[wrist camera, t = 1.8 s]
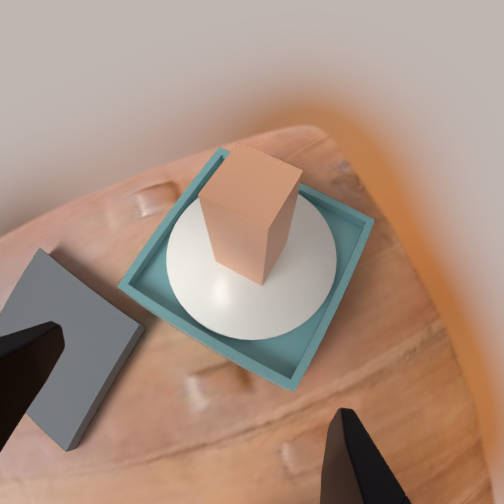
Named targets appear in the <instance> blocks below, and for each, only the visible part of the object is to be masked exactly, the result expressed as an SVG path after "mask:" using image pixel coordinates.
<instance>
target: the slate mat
mask: <svg viewBox="0 0 504 504" xmlns="http://www.w3.org/2000/svg"><path fill="white" fill-rule="evenodd" d="M49 321H53V322H55V323H57V324H60V325H61V327H62V330H63V335H64V340H65V348H64V351H63V353H62V354H61V356H60V358H59V360H58V361H57V363H56V365H55V367H54V369H53V370H52V372H51V374H50V376H49V378H48V379H47V381H46V383H45V384H44V386H43V387H42V389H41V390H40V392H39V393H38V395H37V396H36V398H35V399H34V401H33V402H32V403H31V405H30V406H29V408H28V409H27V411H26V414H27V415H28V416H29V417H30V418H31V419H32V420H33V421H34V422H35V423H36V424H37V425H38V426H39V427H40V428H41V429H42V430H43V431H44V432H45V433H46V434H47V435H48V436H49V437H50V438H51V439H52V440H54V441H55V442H56V443H57V444H58V445H59V446H60V447H61V448H62V449H63V450H65V451H66V452H67V451H70V450H74V449H76V447H77V445H78V443H79V441H80V440H81V438H82V436H83V434H84V432H85V430H86V429H87V427H88V425H89V423H90V422H91V420H92V418H93V416H94V414H95V413H96V411H97V409H98V407H99V406H100V404H101V402H102V400H103V399H104V397H105V395H106V393H107V392H108V390H109V388H110V387H111V385H112V383H113V382H114V380H115V378H116V376H117V375H118V373H119V371H120V370H121V368H122V366H123V365H124V363H125V361H126V360H127V358H128V356H129V355H130V353H131V351H132V350H133V348H134V346H135V345H136V343H137V342H138V340H139V338H140V337H141V335H142V333H143V332H144V330H145V329H146V328H145V327H144V326H142V325H141V324H139V323H138V322H136V321H135V320H133V319H132V318H131V317H129V316H128V315H126V314H125V313H123V312H122V311H121V310H119V309H118V308H116V307H115V306H114V305H112V304H111V303H110V302H108V301H107V300H105V299H104V298H103V297H101V296H100V295H99V294H97V293H96V292H95V291H93V290H92V289H91V288H90V287H88V286H87V285H86V284H84V283H83V282H82V281H80V280H79V279H78V278H77V277H75V276H74V275H73V274H72V273H70V272H69V271H68V270H67V269H65V268H64V267H63V266H62V265H61V264H59V263H58V262H57V261H56V260H55V259H53V258H52V257H51V256H50V255H49V254H47V253H46V252H45V251H43V250H42V249H41V248H39V249H38V251H37V252H36V254H35V255H34V257H33V259H32V260H31V262H30V263H29V265H28V266H27V268H26V270H25V271H24V273H23V275H22V276H21V278H20V280H19V281H18V283H17V285H16V286H15V288H14V290H13V291H12V293H11V295H10V297H9V299H8V300H7V302H6V304H5V306H4V308H3V309H2V311H1V313H0V337H1V336H4V335H8V334H11V333H14V332H17V331H20V330H23V329H27V328H30V327H33V326H36V325H39V324H42V323H46V322H49Z"/></svg>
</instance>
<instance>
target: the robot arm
mask: <svg viewBox="0 0 504 504" xmlns="http://www.w3.org/2000/svg"><path fill="white" fill-rule="evenodd" d="M64 348H65V340H64V335H63V330H62V327H61V325H60V324H57V323H55V322H53V321H49V322H46V323H42V324H39V325H36V326H33V327H30V328H27V329H23V330H20V331H17V332H14V333H11V334H8V335H4V336H1V337H0V452H1V451H2V449H3V447H4V446H5V444H6V442H7V441H8V439H9V437H10V436H11V434H12V433H13V431H14V430H15V428H16V426H17V425H18V423H19V422H20V420H21V419H22V417H23V416H24V414H25V413H26V411H27V409H28V408H29V406H30V405H31V403H32V402H33V401H34V399H35V398H36V396H37V395H38V393H39V392H40V390H41V389H42V387H43V386H44V384H45V383H46V381H47V379H48V378H49V376H50V374H51V372H52V370H53V369H54V367H55V365H56V363H57V361H58V360H59V358H60V356H61V354H62V353H63V351H64ZM405 495H406V494H405V492H404V491H403V489H402V487H401V486H400V484H399V483H398V481H397V479H396V478H395V476H394V475H393V473H392V471H391V470H390V468H389V466H388V465H387V463H386V462H385V460H384V458H383V457H382V455H381V453H380V452H379V450H378V449H377V447H376V445H375V444H374V442H373V441H372V439H371V437H370V436H369V434H368V432H367V431H366V429H365V428H364V426H363V424H362V423H361V421H360V420H359V418H358V416H357V415H356V413H355V412H354V410H352V409H348V408H339V409H338V411H337V412H336V414H335V416H334V418H333V419H332V421H331V423H330V425H329V428H328V433H327V441H326V447H325V454H324V461H323V467H322V475H321V497H320V504H412V503H411V502H410V500H409V499H408V497H407V496H405Z"/></svg>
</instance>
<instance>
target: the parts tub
mask: <svg viewBox="0 0 504 504" xmlns="http://www.w3.org/2000/svg"><path fill="white" fill-rule="evenodd" d="M229 153H230V152H229V151H227V150H225V149H222V148H220V147H219V149H218V150H217V151H216V152H215V154H214V155H213V156H212V157H211V158H210V160H209V161H208V162H207V163H206V165H205V166H204V167H203V168H202V170H201V171H200V172H199V173H198V175H197V176H196V177H195V179H194V180H193V181H192V182H191V184H190V185H189V186H188V188H187V189H186V190H185V192H184V193H183V194H182V195H181V197H180V198H179V199H178V201H177V202H176V203H175V205H174V206H173V207H172V209H171V210H170V211H169V213H168V214H167V216H166V217H165V218H164V220H163V221H162V222H161V224H160V225H159V227H158V228H157V229H156V231H155V232H154V233H153V235H152V236H151V238H150V239H149V241H148V242H147V243H146V245H145V246H144V248H143V249H142V251H141V252H140V253H139V255H138V256H137V258H136V259H135V261H134V262H133V264H132V265H131V267H130V268H129V270H128V271H127V273H126V274H125V276H124V277H123V279H122V280H121V282H120V283H119V285H118V286H117V287H118V288H119V289H121V290H122V291H123V292H124V293H126V294H127V295H128V296H129V297H131V298H132V299H133V300H135V301H136V302H137V303H138V304H140V305H141V306H142V307H144V308H145V309H146V310H148V311H149V312H151V313H152V314H154V315H156V316H157V317H159V318H160V319H162V320H163V321H165V322H166V323H168V324H170V325H171V326H173V327H174V328H176V329H177V330H179V331H181V332H182V333H184V334H186V335H187V336H189V337H190V338H192V339H194V340H195V341H197V342H199V343H200V344H202V345H204V346H205V347H207V348H209V349H211V350H212V351H214V352H216V353H217V354H219V355H221V356H223V357H224V358H226V359H228V360H230V361H232V362H233V363H235V364H237V365H239V366H241V367H242V368H244V369H246V370H248V371H250V372H252V373H253V374H255V375H257V376H259V377H261V378H263V379H265V380H267V381H268V382H270V383H272V384H274V385H276V386H278V387H280V388H282V389H285V390H289V391H293V392H295V390H296V388H297V386H298V384H299V383H300V381H301V379H302V377H303V375H304V373H305V371H306V370H307V368H308V366H309V364H310V362H311V360H312V358H313V356H314V354H315V352H316V350H317V348H318V346H319V345H320V343H321V341H322V339H323V337H324V335H325V333H326V330H327V328H328V326H329V324H330V322H331V320H332V318H333V316H334V314H335V312H336V310H337V308H338V305H339V303H340V301H341V299H342V297H343V295H344V292H345V290H346V288H347V286H348V284H349V281H350V279H351V277H352V275H353V272H354V270H355V268H356V265H357V263H358V261H359V258H360V256H361V254H362V251H363V249H364V246H365V244H366V242H367V239H368V237H369V234H370V232H371V229H372V227H373V224H374V221H375V219H373V218H371V217H369V216H367V215H365V214H363V213H361V212H359V211H357V210H355V209H353V208H351V207H349V206H347V205H345V204H343V203H341V202H339V201H337V200H335V199H333V198H331V197H329V196H327V195H325V194H323V193H321V192H319V191H317V190H315V189H313V188H311V187H309V186H306V185H304V184H302V183H301V184H300V188H299V192H298V194H300V195H301V196H302V197H304V198H305V199H307V200H308V201H309V202H310V203H311V204H312V205H313V206H314V207H315V208H316V209H317V210H318V211H319V212H320V213H321V215H322V216H323V218H324V219H325V221H326V222H327V224H328V226H329V228H330V230H331V233H332V236H333V239H334V242H335V248H336V258H337V263H336V273H335V277H334V281H333V284H332V287H331V289H330V292H329V294H328V295H327V297H326V299H325V301H324V302H323V304H322V305H321V306H320V307H319V309H318V310H317V311H316V312H315V313H314V314H313V315H312V316H311V317H310V318H309V319H308V320H307V321H306V322H305V323H303V324H302V325H301V326H299V327H298V328H296V329H294V330H292V331H291V332H289V333H287V334H284V335H281V336H279V337H276V338H271V339H267V340H258V341H245V340H237V339H231V338H228V337H225V336H222V335H219V334H216V333H214V332H212V331H210V330H208V329H207V328H205V327H204V326H202V325H201V324H199V323H198V322H197V321H196V320H195V319H194V318H193V317H192V316H190V314H189V313H188V312H187V311H186V310H185V309H184V307H183V306H182V305H181V304H180V302H179V301H178V299H177V297H176V296H175V294H174V292H173V289H172V287H171V285H170V281H169V277H168V273H167V265H166V253H167V247H168V242H169V238H170V235H171V232H172V230H173V228H174V226H175V224H176V222H177V221H178V219H179V217H180V216H181V215H182V213H183V212H184V211H185V210H186V209H187V207H188V206H189V205H191V204H192V203H193V202H194V201H195V200H196V199H198V198H199V197H198V194H199V192H200V191H201V190H202V188H203V187H204V186H205V184H206V183H207V182H208V180H209V179H210V178H211V177H212V175H213V174H214V173H215V171H216V170H217V169H218V167H219V166H220V165H221V164H222V162H223V161H224V160H225V158H226V157H227V156H228V155H229Z"/></svg>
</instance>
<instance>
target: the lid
mask: <svg viewBox="0 0 504 504" xmlns="http://www.w3.org/2000/svg"><path fill="white" fill-rule="evenodd" d="M302 175H303V170H301V169H299V168H297V167H295V166H292V165H290V164H288V163H286V162H283V161H281V160H279V159H277V158H274V157H272V156H270V155H267V154H265V153H262V152H260V151H258V150H255V149H253V148H251V147H248V146H246V145H243V144H241V143H237V145H236V146H235V147H234V148H233V150H232V151H231V152H230V153H229V155H228V156H227V157H226V158H225V160H224V161H223V162H222V164H221V165H220V166H219V167H218V169H217V170H216V171H215V173H214V174H213V175H212V177H211V178H210V179H209V180H208V182H207V183H206V184H205V186H204V187H203V188H202V190H201V191H200V192H199V194H198V197H199V198H198V199H196V200H195V201H194V202H193V203H192V204H191V205H189V206H188V207H187V209H186V210H185V211H184V212H183V213H182V215H181V216H180V217H179V219H178V221H177V222H176V224H175V226H174V228H173V230H172V232H171V235H170V238H169V242H168V247H167V253H166V265H167V273H168V277H169V281H170V285H171V287H172V289H173V292H174V294H175V296H176V297H177V299H178V301H179V302H180V304H181V305H182V306H183V307H184V309H185V310H186V311H187V312H188V313H189V314H190V316H192V317H193V318H194V319H195V320H196V321H197V322H198V323H199V324H201V325H202V326H204V327H205V328H207V329H208V330H210V331H212V332H214V333H216V334H219V335H222V336H225V337H228V338H231V339H237V340H245V341H258V340H267V339H271V338H276V337H279V336H281V335H284V334H287V333H289V332H291V331H292V330H294V329H296V328H298V327H299V326H301V325H302V324H303V323H305V322H306V321H307V320H308V319H309V318H310V317H311V316H312V315H313V314H314V313H315V312H316V311H317V310H318V309H319V307H320V306H321V305H322V304H323V302H324V301H325V299H326V297H327V295H328V294H329V292H330V289H331V287H332V284H333V281H334V277H335V273H336V263H337V258H336V248H335V242H334V239H333V236H332V233H331V230H330V228H329V226H328V224H327V222H326V221H325V219H324V218H323V216H322V215H321V213H320V212H319V211H318V210H317V209H316V208H315V207H314V206H313V205H312V204H311V203H310V202H309V201H308V200H307V199H305V198H304V197H302V196H301V195H300V194H298V192H299V188H300V184H301V179H302Z"/></svg>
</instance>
